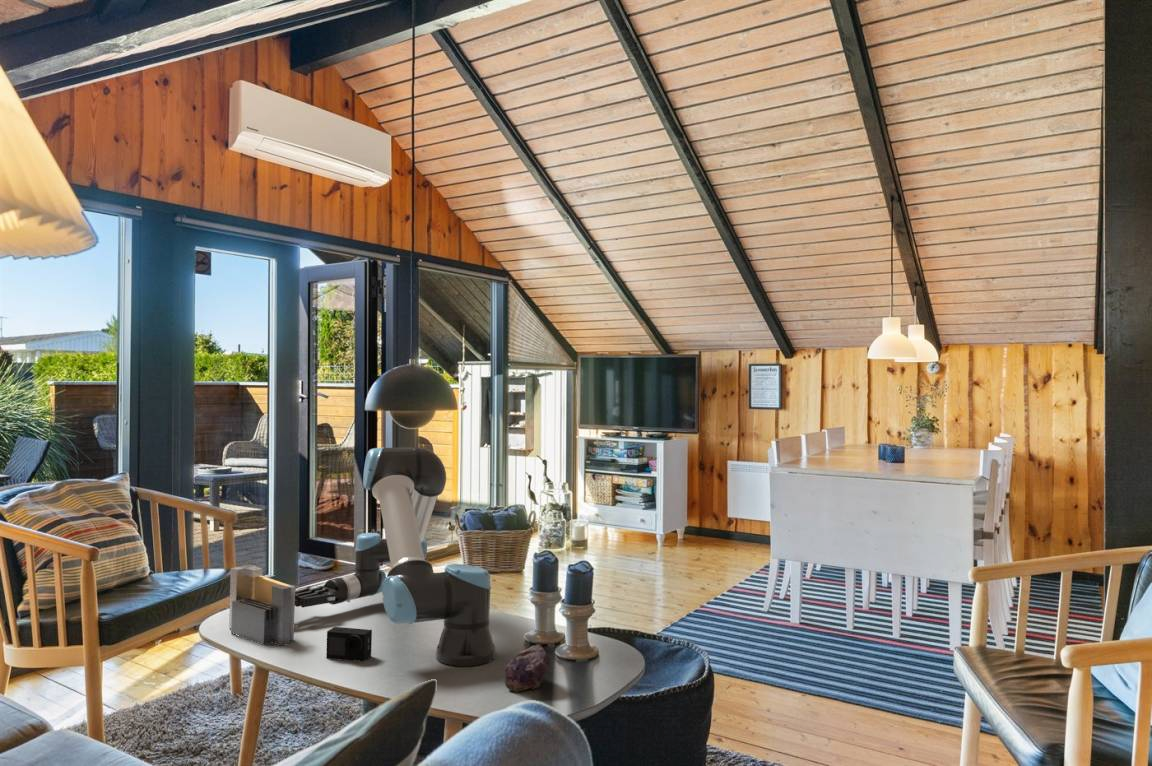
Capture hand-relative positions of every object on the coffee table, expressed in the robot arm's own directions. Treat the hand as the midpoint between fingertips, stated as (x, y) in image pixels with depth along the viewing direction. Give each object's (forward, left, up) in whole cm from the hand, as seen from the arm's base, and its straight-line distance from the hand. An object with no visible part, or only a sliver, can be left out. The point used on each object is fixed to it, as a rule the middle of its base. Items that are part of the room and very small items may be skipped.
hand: (272, 605), depth 222 cm
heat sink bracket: (-1, +4, -7) cm, 8 cm away
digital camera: (-34, +2, -7) cm, 35 cm away
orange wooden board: (-3, +1, -6) cm, 7 cm away
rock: (-83, -12, -7) cm, 84 cm away
